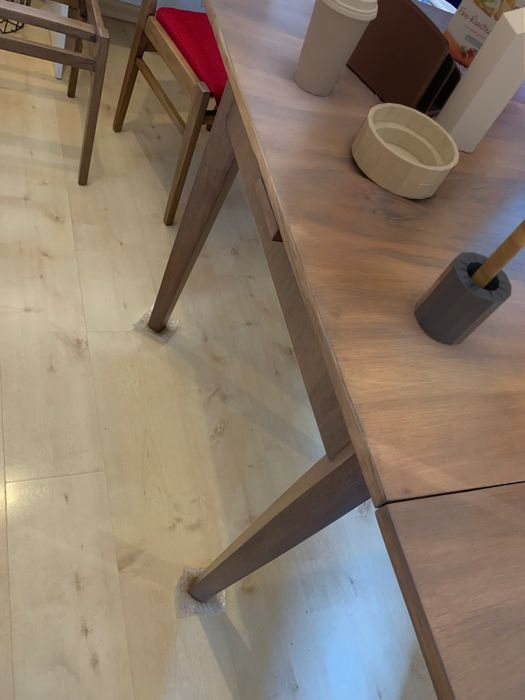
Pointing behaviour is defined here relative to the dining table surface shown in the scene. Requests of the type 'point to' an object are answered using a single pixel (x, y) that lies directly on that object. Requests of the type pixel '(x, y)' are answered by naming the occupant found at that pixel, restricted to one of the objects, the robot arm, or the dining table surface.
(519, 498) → the dining table surface
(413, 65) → the letter holder
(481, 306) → the crock
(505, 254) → the stick
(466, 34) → the cracker box
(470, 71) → the milk
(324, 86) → the coffee cup
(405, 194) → the bowl
